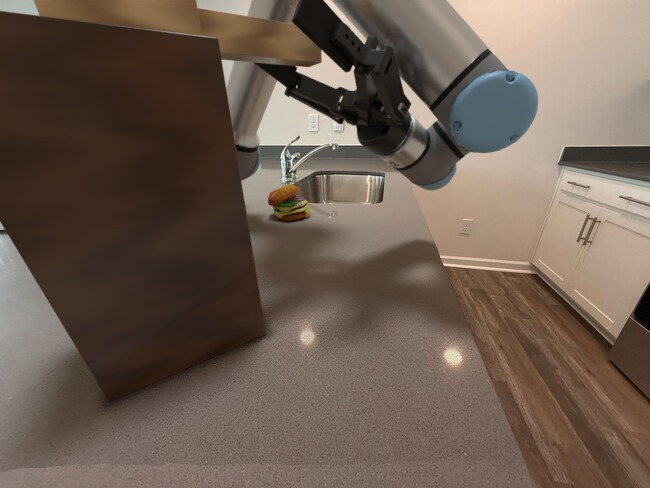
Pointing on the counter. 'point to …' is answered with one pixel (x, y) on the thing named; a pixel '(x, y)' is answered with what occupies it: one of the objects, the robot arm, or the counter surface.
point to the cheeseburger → (288, 203)
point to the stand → (126, 193)
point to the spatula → (197, 27)
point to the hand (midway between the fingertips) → (268, 27)
